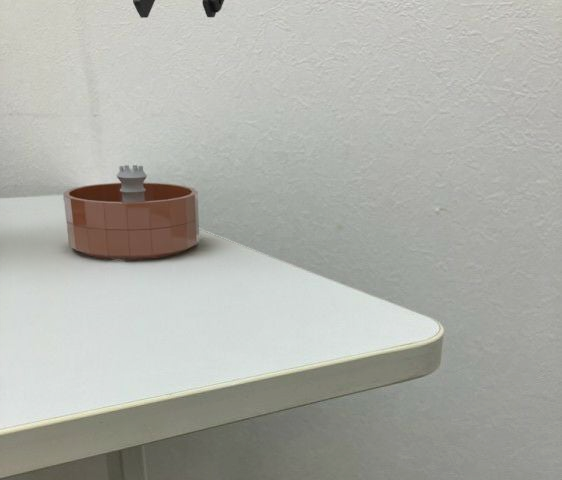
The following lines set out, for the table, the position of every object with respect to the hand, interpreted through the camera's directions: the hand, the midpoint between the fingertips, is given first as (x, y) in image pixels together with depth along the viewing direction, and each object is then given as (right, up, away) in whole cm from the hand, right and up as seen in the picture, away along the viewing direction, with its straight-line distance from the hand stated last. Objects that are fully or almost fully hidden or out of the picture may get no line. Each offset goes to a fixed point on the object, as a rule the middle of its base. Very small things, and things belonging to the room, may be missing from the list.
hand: (173, 11), depth 75 cm
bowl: (-4, -27, 0) cm, 27 cm away
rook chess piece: (-4, -26, 0) cm, 26 cm away
